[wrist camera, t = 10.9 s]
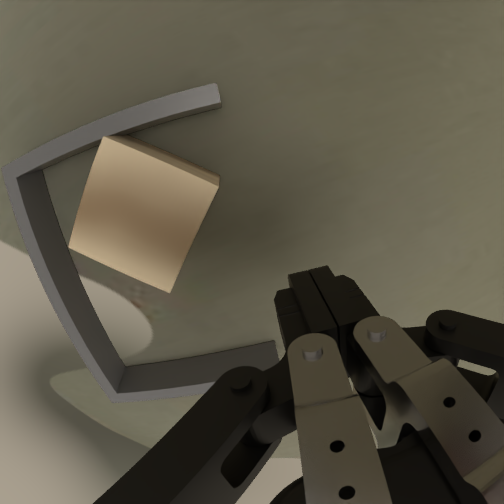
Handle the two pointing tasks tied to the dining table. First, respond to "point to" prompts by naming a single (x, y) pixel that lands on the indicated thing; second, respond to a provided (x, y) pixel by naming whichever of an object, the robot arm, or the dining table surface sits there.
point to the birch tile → (141, 210)
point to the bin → (68, 281)
